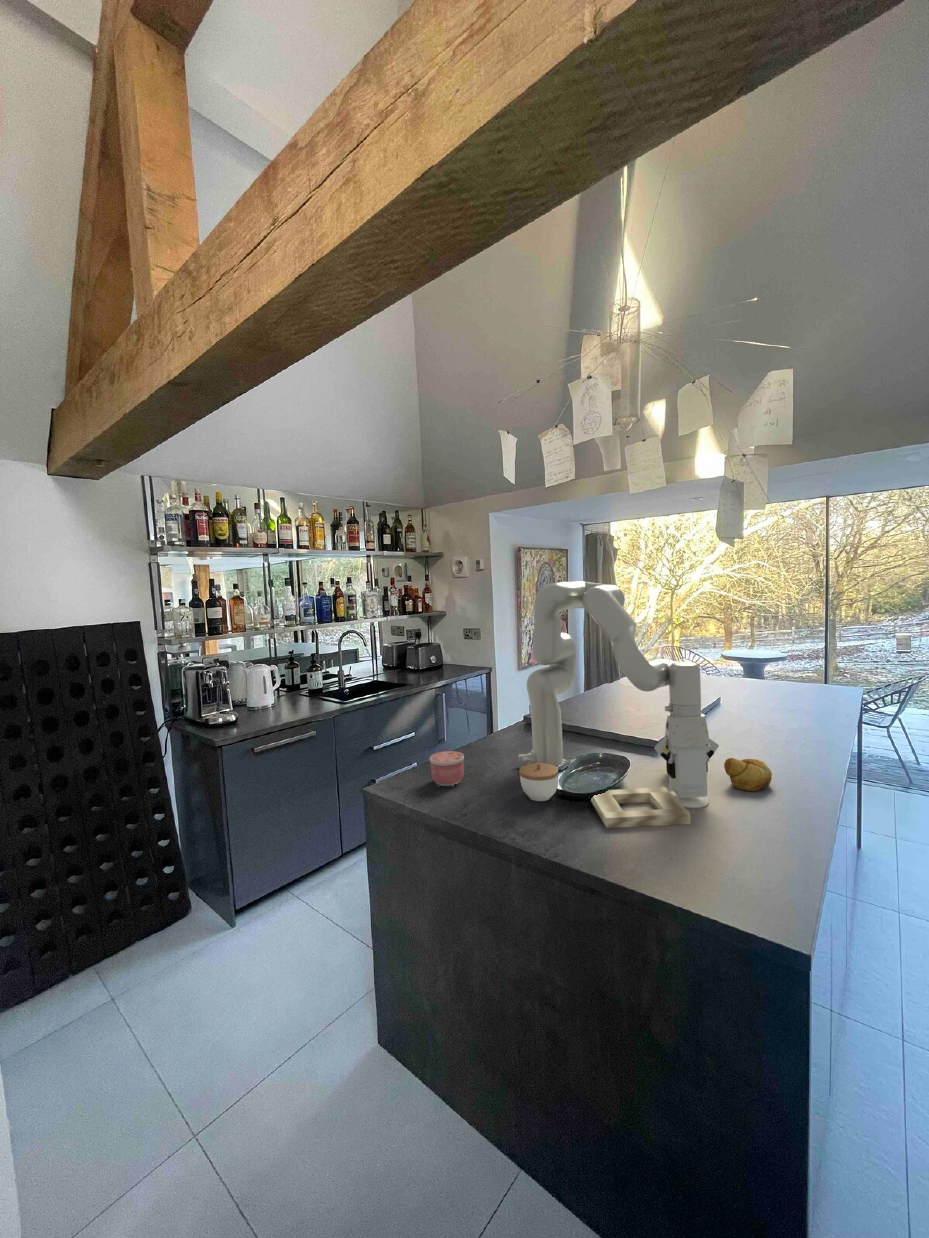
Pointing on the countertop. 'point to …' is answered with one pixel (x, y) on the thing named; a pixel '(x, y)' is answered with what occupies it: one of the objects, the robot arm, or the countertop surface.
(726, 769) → the bread roll
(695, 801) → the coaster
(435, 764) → the container
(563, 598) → the robot arm
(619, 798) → the board
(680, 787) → the supplement box
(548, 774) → the lidded jar
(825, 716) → the countertop surface
